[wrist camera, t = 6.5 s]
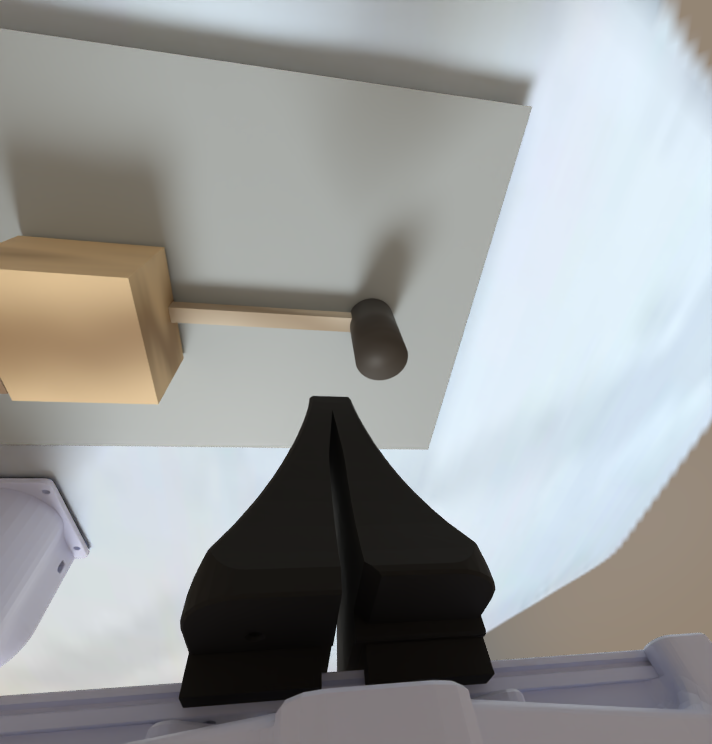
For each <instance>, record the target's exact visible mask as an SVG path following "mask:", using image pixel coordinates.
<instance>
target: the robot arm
mask: <svg viewBox="0 0 712 744" xmlns="http://www.w3.org/2000/svg"><path fill="white" fill-rule="evenodd" d="M88 554H89V549H88V548H87V546H86V544H85V542H84V540H83V538H82V536H81V534H80V532H79V530H78V528H77V526H76V524H75V522H74V520H73V519H72V517H71V515H70V513H69V511H68V509H67V507H66V505H65V503H64V501H63V499H62V497H61V495H60V493H59V491H58V489H57V488H56V486H55V484H54V482H53V481H52V480H50V479H46V478H0V667H2V666H3V665H4V664H6V663H7V662H8V661H9V660H10V659H12V658H13V657H14V656H15V655H16V654H17V653H18V652H19V651H20V650H21V649H22V648H23V647H24V645H25V644H26V643H27V642H28V640H29V639H30V638H31V636H32V635H33V633H34V631H35V630H36V628H37V626H38V624H39V622H40V620H41V619H42V617H43V615H44V613H45V611H46V610H47V608H48V606H49V604H50V602H51V600H52V599H53V597H54V595H55V593H56V591H57V589H58V588H59V586H60V584H61V582H62V580H63V578H64V577H65V575H66V573H67V571H68V569H69V568H70V566H71V564H72V562H73V560H74V558H85V557H87V556H88ZM494 591H495V584H494V580H493V578H492V575H491V573H490V570H489V568H488V566H487V564H486V562H485V560H484V558H483V556H482V554H481V552H480V550H479V548H478V546H477V544H476V543H475V542H474V541H472V540H471V539H470V538H468V537H467V536H466V535H464V534H463V533H461V532H460V531H459V530H457V529H456V528H455V527H453V526H452V525H451V524H449V523H448V522H447V521H446V520H444V519H443V518H442V517H441V516H440V515H438V514H437V513H436V512H435V511H434V510H433V509H431V508H430V507H429V506H428V505H427V504H426V503H425V502H424V501H423V500H422V499H421V498H420V497H419V496H418V495H417V494H416V493H415V492H414V491H413V490H412V489H411V488H410V487H409V486H408V485H407V484H406V483H405V482H404V481H403V480H402V478H401V477H400V476H399V475H398V474H397V473H396V471H395V470H394V469H393V468H392V467H391V465H390V464H389V463H388V461H387V460H386V459H385V457H384V456H383V455H382V453H381V452H380V450H379V449H378V448H377V446H376V445H375V443H374V442H373V440H372V438H371V437H370V435H369V434H368V432H367V430H366V429H365V427H364V425H363V424H362V422H361V420H360V418H359V416H358V414H357V412H356V410H355V408H354V406H353V404H352V401H351V399H350V398H349V397H336V396H312V397H310V398H309V405H308V409H307V412H306V415H305V418H304V421H303V423H302V426H301V428H300V430H299V433H298V435H297V437H296V439H295V441H294V443H293V445H292V447H291V448H290V450H289V452H288V454H287V456H286V457H285V459H284V461H283V462H282V464H281V466H280V467H279V469H278V470H277V472H276V473H275V475H274V476H273V478H272V479H271V480H270V482H269V483H268V485H267V486H266V487H265V489H264V490H263V491H262V493H261V494H260V495H259V496H258V498H257V499H256V500H255V501H254V503H253V504H252V505H251V506H250V507H249V508H248V509H247V511H246V512H245V513H244V514H243V515H242V516H241V517H240V518H239V520H238V521H237V522H236V523H235V524H234V525H233V526H232V527H231V528H230V529H229V530H228V531H227V532H226V533H225V534H224V535H223V536H222V537H221V538H220V539H219V540H218V541H217V542H216V543H215V544H214V545H213V546H212V547H211V548H210V549H209V550H208V551H207V553H206V555H205V557H204V559H203V560H202V562H201V564H200V566H199V568H198V570H197V572H196V574H195V576H194V579H193V581H192V584H191V586H190V589H189V591H188V594H187V598H186V601H185V605H184V609H183V612H182V616H181V620H180V627H181V631H182V634H183V637H184V640H185V643H186V646H187V648H188V651H189V655H188V660H187V664H186V668H185V672H184V676H183V681H182V683H173V684H159V685H146V686H132V687H118V688H104V689H90V690H76V691H62V692H48V693H34V694H20V695H7V696H0V744H712V643H711V641H710V640H709V639H708V637H707V636H706V635H705V634H702V633H689V634H675V635H666V636H661V637H659V638H656V639H654V640H652V641H651V642H650V643H648V644H647V645H646V646H645V647H644V650H633V651H619V652H604V653H592V654H577V655H563V656H551V657H550V656H549V657H535V658H521V659H507V660H494V661H490V658H489V655H488V651H487V648H486V645H485V642H484V639H483V636H485V634H486V630H485V627H484V624H483V621H482V618H481V614H482V613H483V611H484V610H485V608H486V607H487V605H488V603H489V602H490V600H491V598H492V596H493V594H494ZM336 625H337V672H327V669H328V663H329V657H330V652H331V646H333V642H334V636H335V631H336Z"/></svg>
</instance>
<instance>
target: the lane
mask: <svg viewBox="0 0 712 744" xmlns="http://www.w3.org/2000/svg"><path fill="white" fill-rule="evenodd" d="M531 109H532V107H531V106H524V105H517V104H510V103H504V102H497V101H490V100H483V99H476V98H470V97H463V96H456V95H449V94H443V93H436V92H429V91H422V90H415V89H409V88H402V87H395V86H388V85H382V84H375V83H368V82H361V81H354V80H348V79H341V78H334V77H327V76H321V75H314V74H307V73H300V72H293V71H287V70H280V69H273V68H266V67H260V66H253V65H246V64H239V63H232V62H226V61H219V60H212V59H205V58H199V57H192V56H185V55H178V54H171V53H165V52H158V51H151V50H144V49H138V48H131V47H124V46H117V45H110V44H104V43H97V42H90V41H83V40H77V39H70V38H63V37H56V36H49V35H43V34H36V33H29V32H22V31H16V30H9V29H2V28H0V243H1V242H3V241H6V240H8V239H11V238H13V237H16V236H31V237H43V238H56V239H68V240H81V241H93V242H106V243H118V244H131V245H143V246H156V247H164V248H165V254H166V259H167V265H168V271H169V276H170V282H171V288H172V294H173V299H174V302H190V303H206V304H223V305H239V306H255V307H271V308H287V309H304V310H320V311H336V312H351V310H352V308H353V307H354V306H355V305H356V304H357V303H359V302H360V301H362V300H365V299H370V298H374V299H379V300H382V301H384V302H385V303H386V304H388V306H389V307H390V308H391V310H392V313H393V315H394V318H395V320H396V323H397V325H398V328H399V330H400V333H401V335H402V338H403V341H404V343H405V346H406V348H407V351H408V360H407V363H406V366H405V367H404V369H403V370H402V371H401V372H400V373H399V374H398V375H396V376H394V377H392V378H390V379H387V380H372V379H369V378H367V377H365V376H363V375H362V374H361V373H360V372H359V370H358V369H357V367H356V363H355V357H354V351H353V345H352V339H351V333H350V332H338V331H319V330H301V329H282V328H264V327H246V326H227V325H209V324H190V323H178V328H179V334H180V339H181V345H182V351H183V356H184V359H183V361H182V362H181V364H180V366H179V368H178V370H177V371H176V373H175V375H174V377H173V379H172V381H171V382H170V384H169V386H168V388H167V390H166V392H165V393H164V395H163V397H162V399H161V401H160V402H159V404H119V403H80V402H41V401H12V399H11V397H10V395H9V393H8V391H7V389H6V387H5V385H4V384H3V382H2V380H1V378H0V445H75V446H164V447H253V448H291V447H292V445H293V443H294V441H295V439H296V437H297V435H298V433H299V430H300V428H301V426H302V423H303V421H304V418H305V415H306V412H307V409H308V405H309V398H310V397H312V396H336V397H349V398H350V399H351V401H352V404H353V406H354V408H355V410H356V412H357V414H358V416H359V418H360V420H361V422H362V424H363V425H364V427H365V429H366V430H367V432H368V434H369V435H370V437H371V438H372V440H373V442H374V443H375V445H376V446H377V448H378V449H428V448H429V444H430V441H431V438H432V434H433V431H434V428H435V425H436V421H437V418H438V415H439V411H440V408H441V405H442V402H443V398H444V395H445V392H446V388H447V385H448V382H449V378H450V375H451V372H452V369H453V365H454V362H455V359H456V355H457V352H458V349H459V346H460V342H461V339H462V336H463V332H464V329H465V326H466V323H467V319H468V316H469V313H470V309H471V306H472V303H473V299H474V296H475V293H476V290H477V286H478V283H479V280H480V276H481V273H482V270H483V267H484V263H485V260H486V257H487V253H488V250H489V247H490V244H491V240H492V237H493V234H494V230H495V227H496V224H497V220H498V217H499V214H500V211H501V207H502V204H503V201H504V197H505V194H506V191H507V188H508V184H509V181H510V178H511V174H512V171H513V168H514V165H515V161H516V158H517V155H518V151H519V148H520V145H521V141H522V138H523V135H524V132H525V128H526V125H527V122H528V118H529V115H530V112H531Z"/></svg>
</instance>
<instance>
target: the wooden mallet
mask: <svg viewBox="0 0 712 744" xmlns="http://www.w3.org/2000/svg"><path fill="white" fill-rule="evenodd" d="M178 323H190V324H209V325H227V326H246V327H264V328H282V329H301V330H319V331H338V332H350V333H351V339H352V345H353V351H354V357H355V363H356V367H357V369H358V370H359V372H360V373H361V374H362V375H363V376H365V377H367V378H369V379H372V380H387V379H390V378H392V377H394V376H396V375H398V374H399V373H400V372H401V371H402V370H403V369H404V367H405V366H406V363H407V360H408V351H407V348H406V346H405V343H404V341H403V338H402V335H401V333H400V330H399V328H398V325H397V323H396V320H395V318H394V315H393V313H392V310H391V308H390V307H389V306H388V304H386V303H385V302H384V301H382V300H379V299H374V298H370V299H365V300H362V301H360V302H359V303H357V304H356V305H355V306H354V307H353V308H352V310H351V312H336V311H320V310H304V309H287V308H271V307H255V306H239V305H223V304H206V303H190V302H174V299H173V294H172V288H171V282H170V276H169V271H168V265H167V259H166V254H165V248H164V247H156V246H143V245H131V244H118V243H106V242H93V241H81V240H68V239H56V238H43V237H31V236H16V237H13V238H11V239H8V240H6V241H3V242H1V243H0V378H1V380H2V382H3V384H4V385H5V387H6V389H7V391H8V393H9V395H10V397H11V399H12V401H41V402H80V403H119V404H159V402H160V401H161V399H162V397H163V395H164V393H165V392H166V390H167V388H168V386H169V384H170V382H171V381H172V379H173V377H174V375H175V373H176V371H177V370H178V368H179V366H180V364H181V362H182V361H183V359H184V356H183V351H182V345H181V339H180V334H179V328H178Z"/></svg>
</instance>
